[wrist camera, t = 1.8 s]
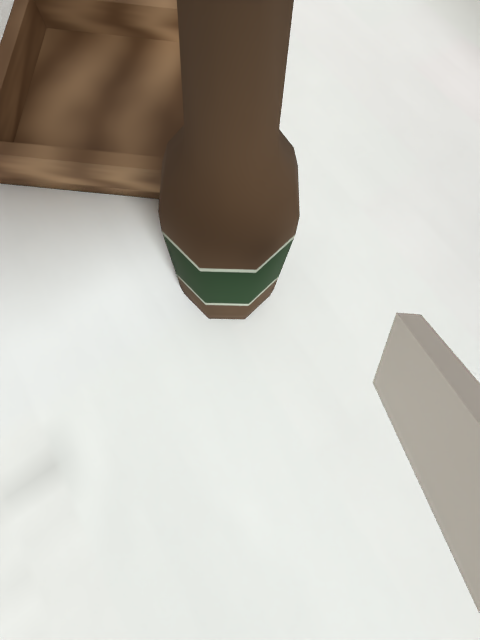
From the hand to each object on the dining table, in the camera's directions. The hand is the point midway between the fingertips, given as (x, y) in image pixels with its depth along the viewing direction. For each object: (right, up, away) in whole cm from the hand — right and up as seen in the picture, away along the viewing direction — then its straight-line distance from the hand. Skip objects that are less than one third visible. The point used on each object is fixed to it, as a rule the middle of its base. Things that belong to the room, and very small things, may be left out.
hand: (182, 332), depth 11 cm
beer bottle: (+1, +4, +19) cm, 20 cm away
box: (-10, +20, +23) cm, 32 cm away
